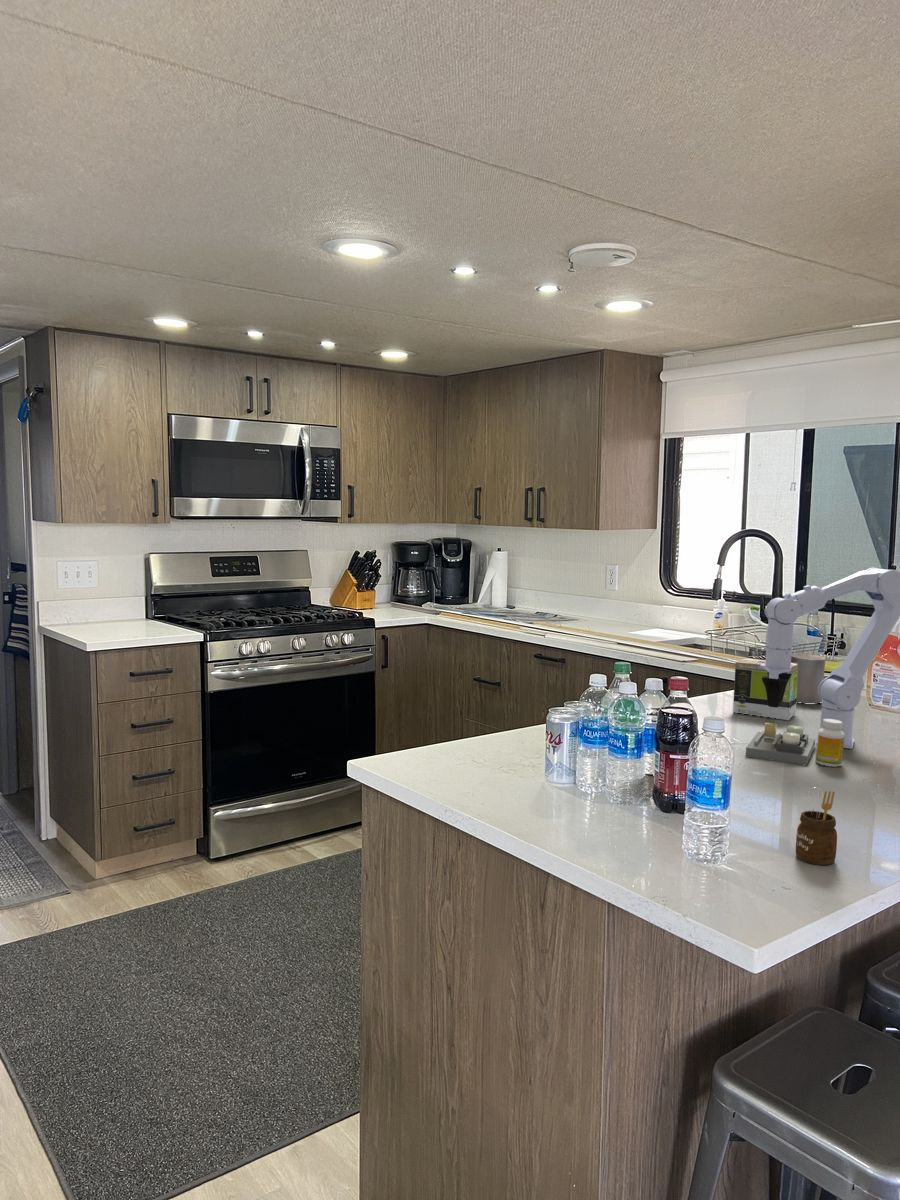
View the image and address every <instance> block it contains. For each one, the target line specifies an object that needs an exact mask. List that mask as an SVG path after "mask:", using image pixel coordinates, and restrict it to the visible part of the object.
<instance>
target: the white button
mask: <svg viewBox="0 0 900 1200" xmlns="http://www.w3.org/2000/svg"><path fill="white" fill-rule="evenodd" d="M786 732H787V731H786ZM782 734H783V740H782V743H783V744H789V745H796V746H799V742H800V735H799V734H796V733H788V732H787V733H784V732H782Z"/></svg>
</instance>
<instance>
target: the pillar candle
mask: <svg viewBox="0 0 900 1200" xmlns="http://www.w3.org/2000/svg"><path fill="white" fill-rule="evenodd" d="M826 659H827V658H826V657H824V656H821V655H817V654H810V653H809V652H808V651H807V654H806V653H793V654H791V663H797V664H798V681H797V701H796V702H801V703H820V702H822V700H823V699H822V698H821V697H820V696H819V693H818V687H819V684H820V683H821V681H822V680H824V679H825V666H826ZM820 704H821V703H820Z"/></svg>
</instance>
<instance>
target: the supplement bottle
mask: <svg viewBox="0 0 900 1200" xmlns="http://www.w3.org/2000/svg"><path fill="white" fill-rule="evenodd" d="M822 725H823V728H822V729H820V728H819V730H818V733H817V739H816V742H817V744H816V749H815V762H816V763H817V764H818V765H821V766H824V765H825V767H831V766H832V767H831V768H833V767H835V768H838V767H840V766H841V765H842V761H843V755H844V754H843V752H844V748H843V745H844V733H843V732H842V731H841V729H842V722H841V721H839V720H834V719H823V724H822ZM837 766H838V767H837Z"/></svg>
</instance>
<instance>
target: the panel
mask: <svg viewBox="0 0 900 1200" xmlns="http://www.w3.org/2000/svg"><path fill="white" fill-rule="evenodd" d="M783 733H787V731H783V732H781V733H779V732H778V733H776V737H775V738H772V737H765V736H764V730H761V731H757V733H756V734H755V735H754V737H753V738H752V739H751V741H750V742H749V743H748V745H747V746H746V747H745V757H747V758H748V757H750V758H755V759H762V760H769V761H775V762H782V761H783V763H789V764H795V763H797V765H802V764H805V765H804V766H807V765H808V764H809V762H808V761H810V759H811V757H812V755H811V754H813V753H812V752H814V750H815V748H814V747H816V739H815V738H809V734H805V733H803V738H800V742H799V746H796V745H789V744H783V743H782V740H783ZM807 763H808V764H807Z"/></svg>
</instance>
